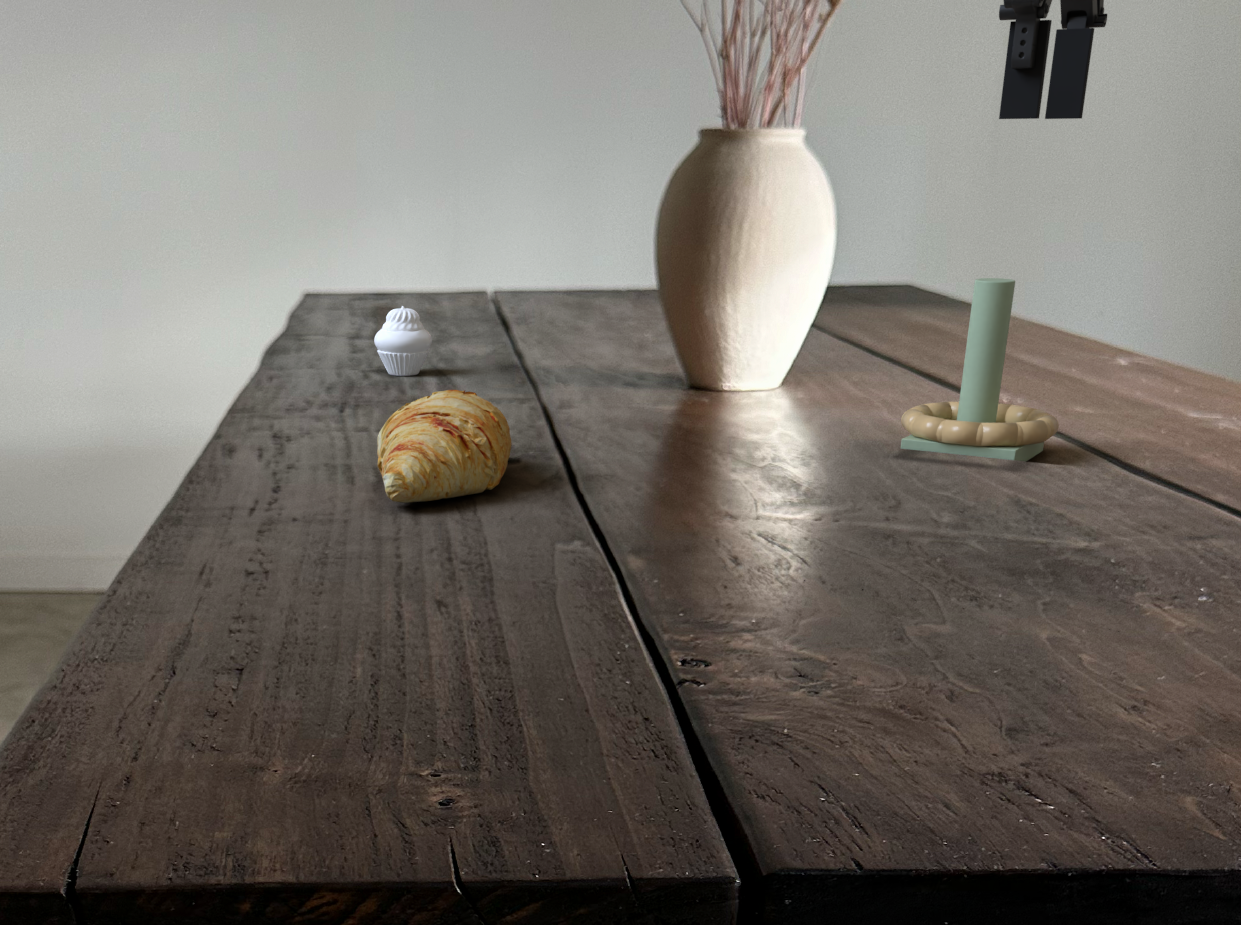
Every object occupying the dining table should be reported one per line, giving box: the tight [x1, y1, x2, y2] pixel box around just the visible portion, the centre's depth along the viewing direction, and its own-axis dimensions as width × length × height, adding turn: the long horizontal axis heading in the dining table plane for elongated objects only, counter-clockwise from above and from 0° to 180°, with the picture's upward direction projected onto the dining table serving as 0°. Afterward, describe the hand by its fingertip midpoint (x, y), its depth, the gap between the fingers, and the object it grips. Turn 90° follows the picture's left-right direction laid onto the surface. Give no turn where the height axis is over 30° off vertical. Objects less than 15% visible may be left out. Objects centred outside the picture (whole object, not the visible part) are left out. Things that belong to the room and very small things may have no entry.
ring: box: [900, 401, 1060, 446], centre depth 129 cm, size 12×12×2 cm
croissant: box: [376, 389, 512, 503], centre depth 118 cm, size 21×10×8 cm, turn 162°
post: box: [900, 277, 1045, 462], centre depth 127 cm, size 9×9×14 cm
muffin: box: [373, 305, 433, 377], centre depth 170 cm, size 6×6×7 cm
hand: (1041, 119), depth 123 cm, fingers open, 13 cm apart
